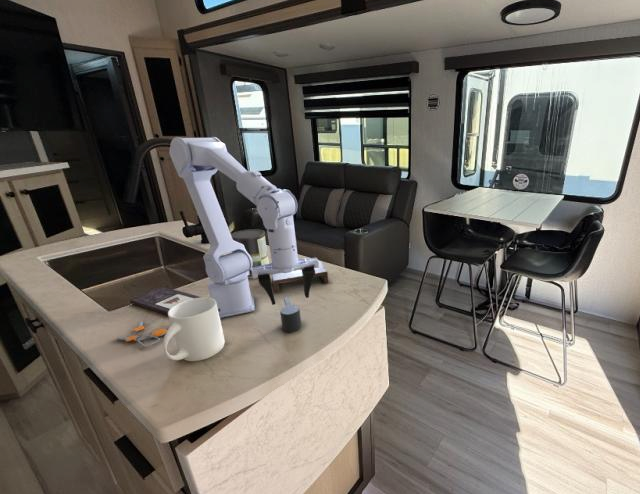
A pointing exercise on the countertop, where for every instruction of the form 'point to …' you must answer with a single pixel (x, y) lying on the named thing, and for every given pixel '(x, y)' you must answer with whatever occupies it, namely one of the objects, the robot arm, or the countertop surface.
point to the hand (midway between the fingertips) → (290, 299)
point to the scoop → (290, 317)
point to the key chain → (140, 338)
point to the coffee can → (253, 246)
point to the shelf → (298, 276)
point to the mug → (195, 330)
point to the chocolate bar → (162, 299)
